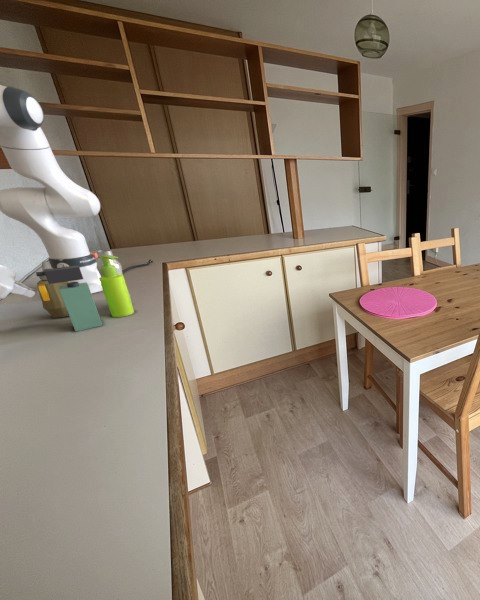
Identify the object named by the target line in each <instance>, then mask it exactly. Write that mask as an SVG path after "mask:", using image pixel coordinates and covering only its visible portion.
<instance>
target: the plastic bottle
mask: <svg viewBox="0 0 480 600" xmlns="http://www.w3.org/2000/svg"><path fill="white" fill-rule="evenodd" d="M96 254H97V258H98V257H99V256H104V255H112V256H114V253H113V251H112V250H111V249H101V250H97V251H96ZM109 260H110V259H109ZM96 263H97V270H98V272H99V274H100V276H101V277H102V276H104V275H103V272H102V269H101V267H102V266H103V265H104V264H103V261H102V258H98V261H97V262H96ZM110 263H111V264H112V265H115V267H116V270H117V274H122V275H123V276H124V274H123V273H124V272H123V273H122V271H123V266H122V264H121V262H120V261H119V260H118V259H113V260H110ZM128 293H129V296H130V299H131V302H132V303H133V298H132V295H131V293H130V291H128Z"/></svg>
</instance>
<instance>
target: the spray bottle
mask: <svg viewBox="0 0 480 600" xmlns="http://www.w3.org/2000/svg"><path fill="white" fill-rule="evenodd" d="M35 274H36V277H38V278H39V276H46V278H47V281H48V283H49V284H53V283H60V282H67V281H74V280H81V279H83V276H82V273H81V271H80V268H79V265H77V266H68V267H60V268H52V269H44V271H36V272H35ZM59 291H60V293H61V296H62V298H63V301H64V303H65V306H66V309H67V311H68V314H69V316H68V317H69V319H70V321H71V324H72V327H73V329H74V331H75V332H80V331H83V330H89V329H93V328H97V327H98V328H99V327H102V326H103V323H102V320H101V318H100V314H99V312H98V309H97V307H96V303H95V301H94V297H93V295H92V293H91V292H90V289H89V286H88V284H87V282H85V283H78V282H70V283H67V285H65V286H59Z"/></svg>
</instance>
